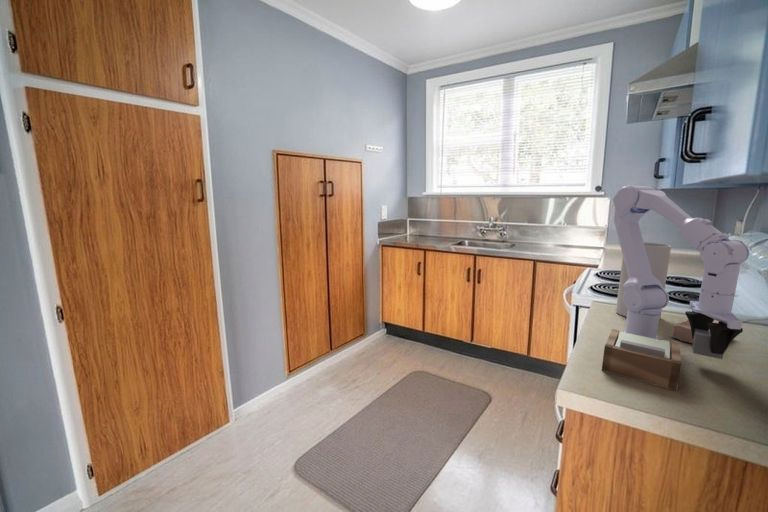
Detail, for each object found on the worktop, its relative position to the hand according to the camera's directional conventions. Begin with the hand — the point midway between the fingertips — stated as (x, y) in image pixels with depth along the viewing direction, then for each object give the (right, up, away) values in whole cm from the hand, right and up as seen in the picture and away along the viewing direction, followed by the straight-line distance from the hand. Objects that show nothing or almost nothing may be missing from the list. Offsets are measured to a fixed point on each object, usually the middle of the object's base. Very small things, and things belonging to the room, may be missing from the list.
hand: (707, 347), depth 81 cm
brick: (+16, -3, +19) cm, 25 cm away
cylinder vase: (+11, +1, +38) cm, 39 cm away
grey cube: (0, -1, 0) cm, 1 cm away
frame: (-16, -5, 0) cm, 17 cm away
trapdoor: (-16, 0, 0) cm, 16 cm away
